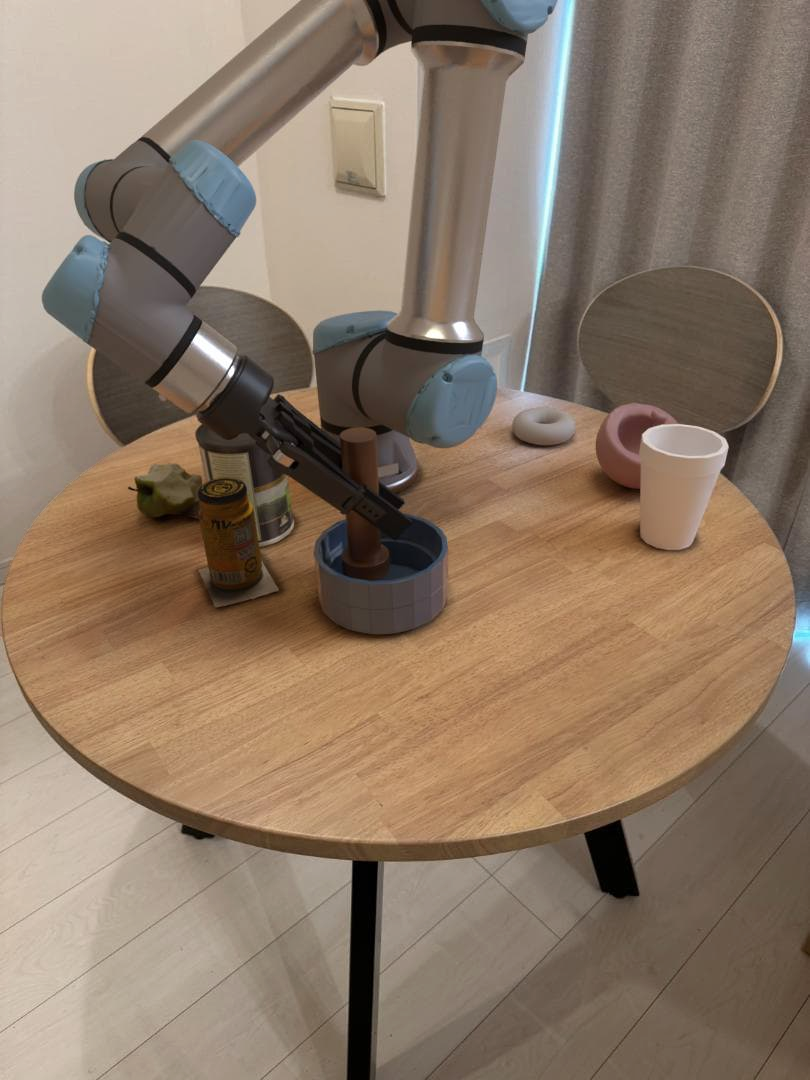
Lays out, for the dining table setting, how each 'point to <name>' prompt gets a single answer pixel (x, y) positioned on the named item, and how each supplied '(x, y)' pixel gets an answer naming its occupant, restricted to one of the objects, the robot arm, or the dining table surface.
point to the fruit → (168, 491)
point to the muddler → (364, 539)
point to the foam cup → (677, 482)
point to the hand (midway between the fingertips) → (399, 519)
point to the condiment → (231, 544)
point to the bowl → (385, 580)
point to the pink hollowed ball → (626, 440)
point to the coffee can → (250, 480)
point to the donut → (543, 426)
